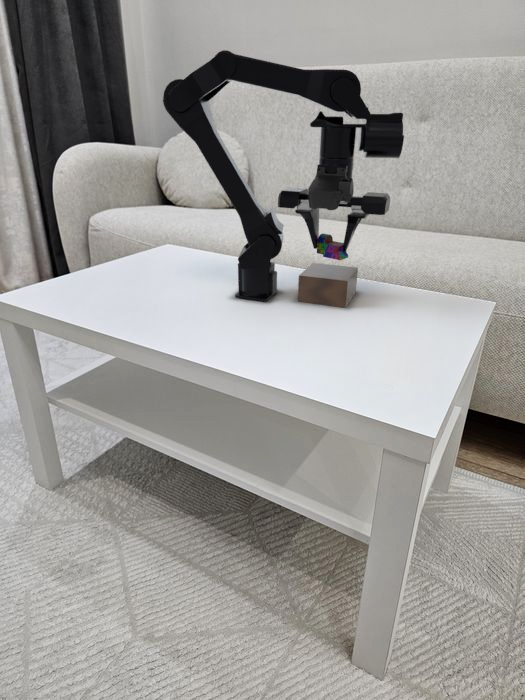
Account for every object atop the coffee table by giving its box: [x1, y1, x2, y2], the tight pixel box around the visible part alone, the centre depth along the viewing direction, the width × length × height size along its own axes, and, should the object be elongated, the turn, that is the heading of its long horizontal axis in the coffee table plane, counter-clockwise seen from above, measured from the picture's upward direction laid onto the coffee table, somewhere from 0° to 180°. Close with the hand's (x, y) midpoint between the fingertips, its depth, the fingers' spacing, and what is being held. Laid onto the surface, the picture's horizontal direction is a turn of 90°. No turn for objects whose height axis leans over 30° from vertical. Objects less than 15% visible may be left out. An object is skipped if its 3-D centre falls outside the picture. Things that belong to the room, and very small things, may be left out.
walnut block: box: [297, 262, 359, 309], centre depth 89 cm, size 9×9×5 cm
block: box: [316, 233, 350, 261], centre depth 86 cm, size 6×4×3 cm
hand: (329, 249), depth 86 cm, fingers closed on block, 5 cm apart
